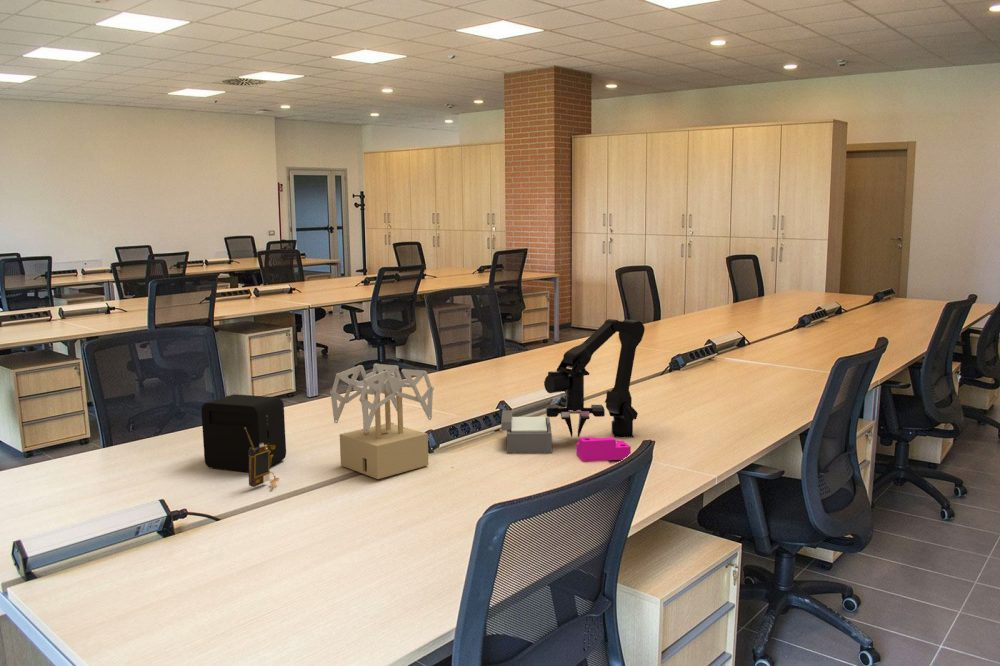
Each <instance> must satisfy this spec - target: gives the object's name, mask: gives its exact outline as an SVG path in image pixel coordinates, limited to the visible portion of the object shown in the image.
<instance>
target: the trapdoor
mask: <svg viewBox="0 0 1000 666" xmlns="http://www.w3.org/2000/svg"><path fill="white" fill-rule="evenodd" d="M501 414H502V415H501V422H500V424H501V425H500V428H501V430H500V431H504V432H505V431H506V432H507V431H511V432H547V426H546V418H545V417H546V416H513V410H510V409H509V410H504V409H503V410H502V412H501Z"/></svg>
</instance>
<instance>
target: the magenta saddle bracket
mask: <svg viewBox="0 0 1000 666" xmlns="http://www.w3.org/2000/svg"><path fill="white" fill-rule="evenodd" d="M575 449H576V456H577V457H578V459H580V461H582V462H584V463H586V462H599V461H603V462H604V461H615V460H616V461H617V460H619V461H620V460H624V459H623V458H625V457H627V456H628V455H629V454H631V449H632V448H631V446H630V445H629V444H628V443H627V442H626V441H624V440H617V439H616V438H615V437H614V436H610V437H597V436H596V437H595V436H587V437H586V436H585V437H578V442H576V448H575Z"/></svg>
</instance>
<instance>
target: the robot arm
mask: <svg viewBox="0 0 1000 666" xmlns="http://www.w3.org/2000/svg"><path fill="white" fill-rule="evenodd" d="M645 331H646V327H645V325H644V323H642V321H640V320H635V319H634V320H632V319H624V320H622V321H620V320H618V319H612V318H608V319H606V320H604V322H603V324H602V325H600V327H598V329H596V330H595V331H594V332H593V333H592V334H591V335H590V336H588V337H587V339H586V340H584V342H582V343H580V344H579V345H576V346H573V347H571V348H570V349H568V350H567V351H565V352H564V354H563V358H562V360H561V361H560V363H559V365H558V367H557V369H556V371H548V372H547V376H546V377H545V379H544V381H543V385H544V389H545V391H546V392H547V393H548V394H554V393H560V403H561V404H565V407H559V405H558V404H547V405H546V407H545V413H546V414H545V415H546V416H545V417H549V418H557V417H558V416H559V415H560V418H561V420H564V421H565V423H566V425H567V428H568V431H569V435H570V437H571V438H573V435H574V434H573V427H572V419H571V414H579V415H578V416H579V417H578V425H577V438H580V435H581V432H582V429H583V427H584V425H585V424H586V422H587V420H590V414H592V415H593V416H594V417H598V418H599V417H600V418H601V417H602V418H603V417H605V416H606V413H605V412H606V411H605V409H606V410H607V412H608V414H609V416H610V417H612V419H613V420H612V421H611V434H612V435H613V438H634V430H633V429H634V426H633V425H634V420H637V417H638V412H637V410H636V409H635V408H634V407H633V406H632V403H633V402H632V395H631V392H630V385H631V378H632V373H633V368H634V361H635V355H636V350H637V347H638V346H639V344H641V342H642V340H643V337H644V335H645ZM617 332H618V338H619V343H620V352H619V356H618V364H617V370H616V374H615V381H614V387H613V388H612V389H611V390H607V392H606V398H605V400H604V403H605V407H604V405H602V404H591V405H590V407H585V376H589V375H590V372H589V371H587V370H586V367H587V365H588V364H589V363H590V362H591V360H592V356H593V354H594V353H595V352H597V351H598V349H600V347H602V346H603V345H604V344H605V343H606V342H608V341H609V339H610V338H612V336H613V335H615V334H616V333H617ZM561 392H562V393H561ZM563 392H565V393H563Z"/></svg>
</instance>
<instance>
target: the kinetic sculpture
mask: <svg viewBox="0 0 1000 666" xmlns="http://www.w3.org/2000/svg"><path fill="white" fill-rule="evenodd" d="M372 368H373V369H372V371H371V372H369V373H367V372H366V370H365V368H364V365H362V364H359V365H357V366H353V367H352V368H348V369H346V370H343V371H341V372H337V373H336V374H335V379H334V381H333V384H332V389H331V390H330V391H329V394H330V399H331V407H332V408H331V409H332V413H333V422H334V424H338V422H339V420H340V417H341V415H342V413H343V410H344V408H345V405H346V404H349V403H350V402H351V401H352V400H354V399H356V398H357V397H359V396H360V397H359V400H358V401H359V402H360V403H361V410H362V411H361V412H362V422H363V424H362V425H363V428H362V429H361V428H360V429H357V430H353V431H348V432H347V431H346V432H343V433H339V452H340V454H339V455H340V466H341V467H344V468H347V469H349V470H352V471H355V472H357V473H360V474H363V475H366V476H368V477H371V478H373V479H376V480H379V479H384V478H387V477H391V476H394V475H397V474H398V475H399V474H401V473H406V472H409V471H413V470H416V469H420V468H423V467H427V466H429V434H428V433H426V432H423V431H420V430H416V429H412V428H409V427H406V426H405V427H404V416H403V415H404V414H403V413H404V411H403V410H404V409H403V398H404V399H406V400H409V401H410V400H411V401H414V402H417V403H420V405H421V407H422V410H423V412H424V413H425V416H426V417H427V419H428V421H431V420H432V418H433V417H432V416H433V395H434V394H433V393H434V392H433V391H435V388H434V387H433V386H432V384H431V381H430V378H429V375H428V372H427V371H426V370H419V369H409V368H408V369H407V368H402V369H401V371H399V365H394V364H383V363H374V364H373V367H372ZM400 372H401V373H402V375H403V376H404V378H405V379H402V376H401V373H400ZM360 373H361V376H362V378H363V380H357V379H358V377H359V375H360ZM350 375H352V376H351V378H350V377H349V376H350ZM412 376H415V378H414V379H413V378H412ZM423 378H424V381H425V383H426V387H427V390H426V391H425V392H424V393H423V395H421V394H420V392H419V390H418V387H417V385H418V384H419V382H420V381H421V380H422V379H423ZM340 380H341V381H342V382H344V383H345V384H347V385H348V386H347V389H346V391H345V394H344V396H342V395H341V394H340V393H338V392H337V388H338V386H339V382H340ZM352 388H353V391H355V392H354V393H353V394H351V392H352ZM403 388H412V390H413V393H414V395H415V396H414V395H411V394H409V393H406V392H405V393H404V392H403ZM350 394H351V395H350ZM381 394H384V398H383V399H381ZM369 395H372V396H373V395H374V396H373V397H374V399H373V401H372V402H370V401H369V397H368V396H369ZM426 400H427V403H426ZM338 402H340V403H339V405H338ZM391 403H392V405H393V407H394V409H395V411H396V412H397V424H395V423H394V422H391V417H392V416H391ZM383 405H384V412H385V415H384V416H385V419H384V420H385V422H384V424H381V423H382V421H381V419H382V418H381V417H382V416H381V407H382V406H383ZM369 411H370V412H369ZM374 419H375V421H374ZM373 421H374V422H375V423H374V424H375V425H374V426H371V425H372V422H373Z"/></svg>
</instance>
